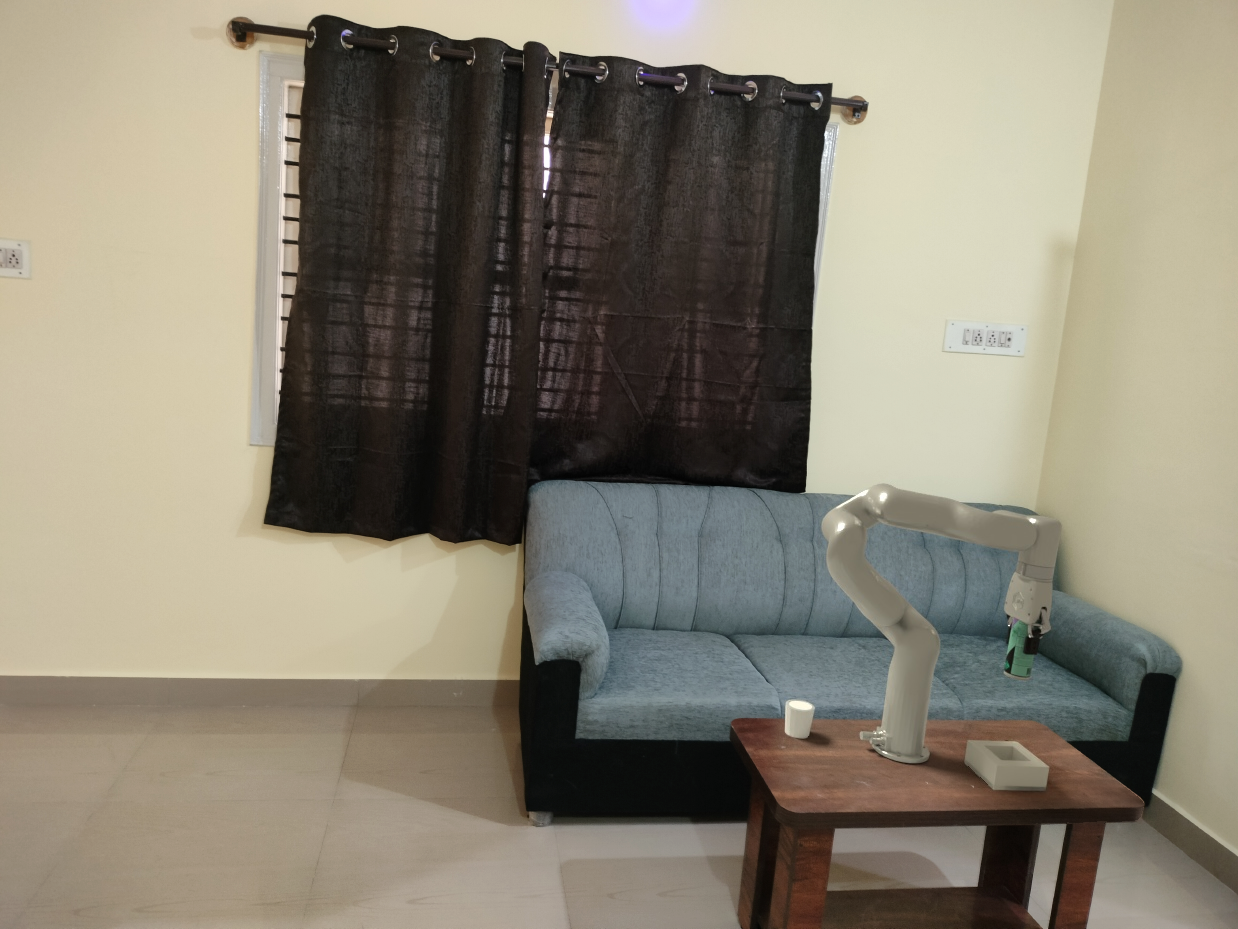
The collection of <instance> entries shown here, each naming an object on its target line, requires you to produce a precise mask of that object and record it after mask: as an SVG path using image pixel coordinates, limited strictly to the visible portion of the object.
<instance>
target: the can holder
mask: <svg viewBox="0 0 1238 929" xmlns="http://www.w3.org/2000/svg"><path fill="white" fill-rule="evenodd" d="M966 741H967V742H966V749H965V753H964V761H963V762H964V763H963V764H965V765H966V766H967V767H968V766H969V767H970V768H971V769H972V770H973V771H974V772H975V773H974V772H973V771H972V770H971V769H970V768H969V767H968V768H969V769H970V770H971V771H972V772H973V773H974V774H975V775H976V776H977V777H979V778H980V777H981V778H982V779H983V780H984V781H985V782H986V783H987V784H988V785H987V784H986V783H985V782H984V781H983V780H982V779H981V778H980V779H981V780H982V781H983V782H984V783H985V784H986V785H987V786H988V787H989V788H991V789H992V790H993V791H1021V792H1022V791H1024V792H1036V791H1037V792H1046V791H1047V790H1046V789H1047V785H1048V776H1049V770H1050V766H1049V765H1047V763H1045V762H1043V761H1042V760H1041V759H1040V758H1038V757H1037V756H1036V755H1035V754H1034V753H1032V751H1030V750H1028V749H1027V748H1026V747H1025V746H1023V745H1022V744H1021V743H1019V742H1018V741H1016V740H1015V741H1014V740H1013V741H1011V740H1006V741H1005V740H1003V741H1002V740H977V739H974V740H973V739H967V740H966Z"/></svg>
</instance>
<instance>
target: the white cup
mask: <svg viewBox="0 0 1238 929" xmlns="http://www.w3.org/2000/svg"><path fill="white" fill-rule="evenodd" d="M784 709H785V714H784V715H785V716H784V718H785V719H784V733H785V734H786V735H787V736H789V737H792V738H795V739H807V738H809V737H810V733H811V727H812V722H813V719H814V714H815V709H816V707H815V705H814V704H812V703H810V702H809V701H806V700H802V699H788V700H786V701H785V708H784ZM808 736H809V737H808Z"/></svg>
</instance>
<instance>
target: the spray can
mask: <svg viewBox="0 0 1238 929" xmlns="http://www.w3.org/2000/svg"><path fill="white" fill-rule="evenodd" d="M1035 623H1038V621H1036V622H1035ZM1035 629H1037V626H1033V631H1034V630H1035ZM1026 636H1028V624H1025V623H1023V622H1021V621H1019V620H1018V619H1016V618H1013V622H1012V627H1011V633H1010V639H1009V645H1008V644H1007V645H1008V646H1007V651H1006V657H1005V663H1004V669H1003V674H1004V675H1005V676H1006V677H1008V678H1011V679H1013V680H1016V681H1025V682H1026V681H1030V680H1031V674H1032V670H1033V669H1032V668H1033V664H1034V658H1035V655H1027V654H1024V653H1023V649H1024V643H1025V638H1026Z"/></svg>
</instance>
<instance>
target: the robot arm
mask: <svg viewBox="0 0 1238 929" xmlns="http://www.w3.org/2000/svg"><path fill="white" fill-rule="evenodd" d="M880 523H881V524H883V525H885V526H891V527H893V528H898V529H899V528H900V529H903V530H904V529H905V530H910V531H915V532H922V533H926V534H931V535H935V536H941V537H945V538H947V539H952V540H956V541H963V542H966V543H971V544H975V545H980V546H984V547H988V548H993V549H997V550H1003V551H1009V552H1017V553H1018V557H1017V562H1016V567H1015V568H1016V570H1015V572H1014V573H1013V574H1012V577H1011V579H1010V582H1009V586H1008V588H1007V593H1006V596H1005V602H1004V606H1003V608H1004V609H1003V611H1004V612H1005V614H1006V619H1007V626H1008V629H1007V634H1006V639H1005V644H1006V645H1009V639H1010V633H1011V627H1012V622H1013V618H1016V619H1018V620H1019V621H1021V622H1023V623H1025V624H1028V636H1026V638H1025V643H1024V649H1023V653H1024V654H1027V655H1034V656H1037V655H1038V652H1039V646H1040V641H1041V639H1043V636H1044V635H1046V633H1048V632H1049V631H1051V630H1052V626H1051V622H1050V616H1051V612H1052V611H1051V609H1052V602H1053V601H1052V600H1053V580H1054V579H1053V578H1054V575H1055V574H1054V573H1055V569H1056V562H1057V557H1058V552H1059V551H1058V550H1059V544H1060V540H1061V534H1062V526H1063V525H1062V523H1061V521H1060V520H1059V519H1056V518H1054V517H1050V516H1044V515H1037V514H1036V515H1035V514H1034V515H1026V514H1024V513H1018V512H1014V511H1009V510H1005V509H999V510H994V511H988V510H983V509H981V508H977V507H974V506H971V505H968V504H966V503H963V502H961V501H958V500H955V499H951V498H948V497H943V496H938V495H934V494H933V495H931V494H926V493H921V492H916V491H911V490H906V489H903V488H902V489H901V488H897V487H895V486H894V485H891V484H889V483H877V484H875V485H872V486H870V487H868V488H866V489H865V490H863V491H861V492H859V493H857V494H856V495H855V496H853V497H851V498H849V499H847V500H846V501H844V502H842V503H841V504H839V505H837V506H835V507H834V508H832V509H831V510H829V511H828V512H827V513H826V514H825V516H824V517H823V519H822V521H821V527H820V528H821V533H822V536H823V537H824V538H825V540H826V541H827V542H828V544H827V549H826V556H825V559H826V566H827V570H828V572H829V574H830V576H831V578H832V579H833V581H834V582H835V583H836V585H837V586H838V587H839V588H840V589H841V590H842V591H843V592H844V593H845V594H846V595H847V597H848V598H850V600H851V601H852V602H853V603H854V604H855V607H856V608H857V609H858V610H859V612H861V614H862V615H863V616H864V617H865V618H866V619H867V620H868V621H870V622H871V623H872V624H873V625H874V626H875V627H876V628H877V629H878V631H880V632H881V633H882V634H883V635H884V636H885V638H886V639H887V640H888V641H889V642H890V643H891V645H892V646H893V648H894V651H893V655H892V658H891V661H890V664H889V668H888V674H887V679H886V681H887V682H886V690H885V697H884V704H883V705H884V706H883V712H882V720H881V726H876V730H873V731H865V730H864V731H863V730H862V731H860V732H859V738H860V740H862V741H869V743H870V745H871V746H872V748H873V750H874V751H875V752H877V753H878V754H879V755H881V756H883V757H885V758H887V759H890V760H892V761H896V762H901V763H904V764H906V763H907V764H921V763H924V762H927V761H928V760H929V758H930V750H929V749H928V747H927V746H925V745H924V743H925V735H926V729H927V724H928V723H927V721H928V714H929V708H930V707H929V706H930V701H931V700H930V699H931V691H932V684H933V678H934V673H935V669H936V666H937V662H938V659H939V656H940V652H941V640H940V635H939V633H938V631H937V630H936V628H935V627H934V626H933V624H931V622H930V621H928V619H927V618H925V617H924V616H923V615H922V614H921V613H920V612H919V611H917V609H916V608H915V607H913V605H912V604H910V603H909V601H908V600H907V599H906V598H905V597H904V596H903V595H902V594H901V593H900V592H899V590H898V589H897V588H896V587H895V586H894V585H893V584H892V583H891V582H890V581H889V580H888V579H886V578H885V577H882V575H881V574H880V573H879V572H878V571H877V570H876V568H874V566H873V565H871V563H870V562H869V561H868V560H867V558H866V556H865V550H866V545H867V541H868V531H867V530H869V529H871V528H873V527H875V526H876V525H877V524H880ZM1036 621H1038V623H1035V622H1036ZM1033 626H1037V629H1035V630H1034V631H1033Z"/></svg>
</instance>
